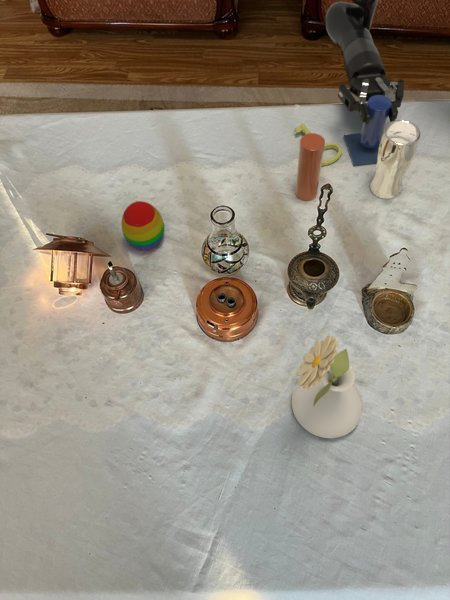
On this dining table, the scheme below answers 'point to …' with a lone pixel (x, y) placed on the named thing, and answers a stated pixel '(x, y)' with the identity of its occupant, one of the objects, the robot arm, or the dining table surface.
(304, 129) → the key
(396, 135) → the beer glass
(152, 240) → the decorative egg
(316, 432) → the flower in vase
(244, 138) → the dining table surface
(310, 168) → the terracotta pillar
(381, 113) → the blue canister
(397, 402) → the dining table surface
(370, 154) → the blue tile
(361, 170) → the dining table surface
